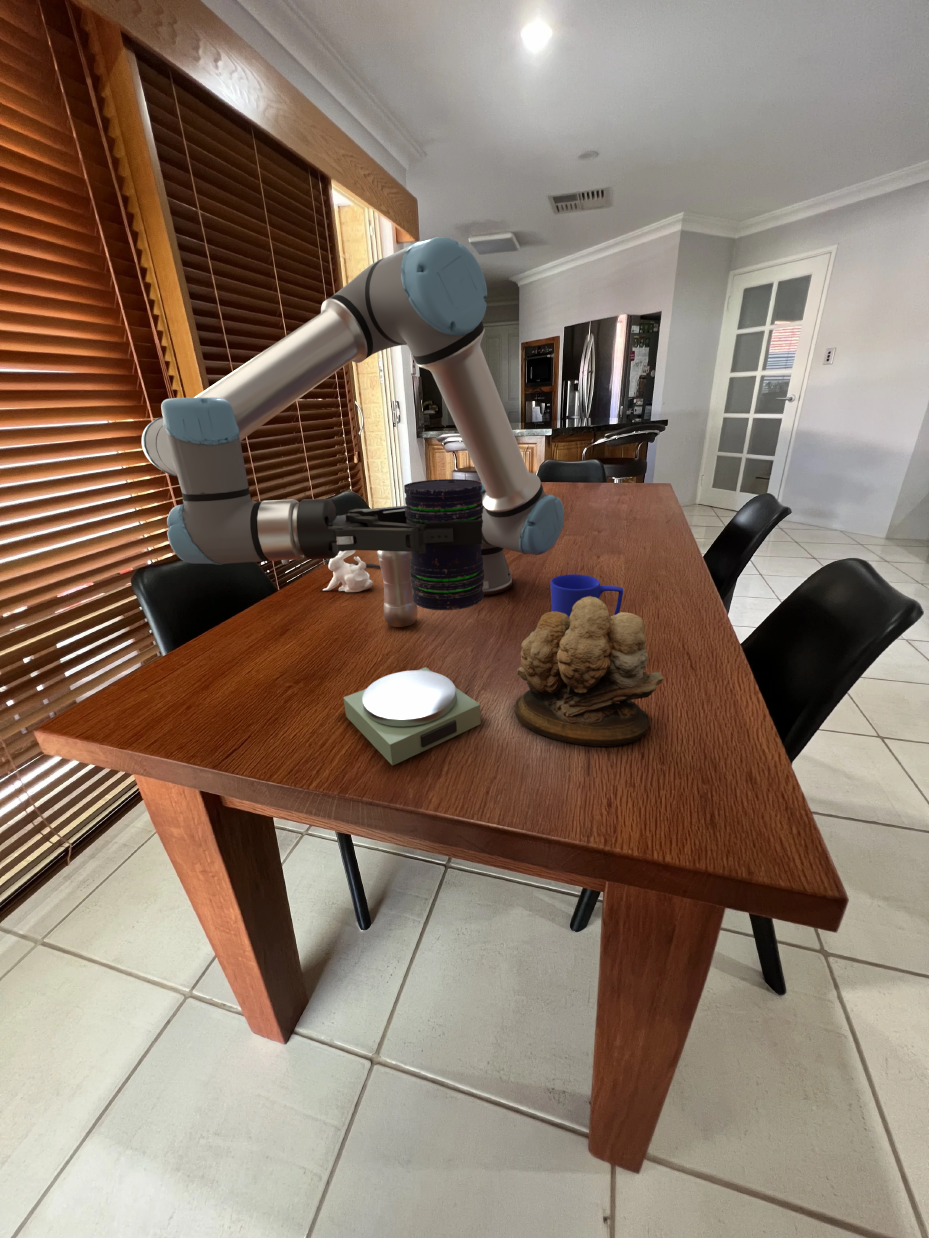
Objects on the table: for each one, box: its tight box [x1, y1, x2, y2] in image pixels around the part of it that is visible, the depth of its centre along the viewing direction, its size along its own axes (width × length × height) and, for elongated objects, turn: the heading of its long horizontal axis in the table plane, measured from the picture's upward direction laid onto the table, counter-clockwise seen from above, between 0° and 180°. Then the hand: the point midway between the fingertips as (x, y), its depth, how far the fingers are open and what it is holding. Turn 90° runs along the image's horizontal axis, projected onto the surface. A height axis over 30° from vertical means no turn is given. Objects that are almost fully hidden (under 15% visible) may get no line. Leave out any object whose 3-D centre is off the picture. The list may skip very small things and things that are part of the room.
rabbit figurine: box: [322, 550, 374, 593], centre depth 115 cm, size 12×8×10 cm, turn 73°
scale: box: [342, 666, 482, 766], centre depth 65 cm, size 13×13×3 cm
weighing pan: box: [362, 669, 457, 727], centre depth 64 cm, size 12×12×1 cm
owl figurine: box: [514, 596, 664, 747], centre depth 61 cm, size 18×12×17 cm, turn 72°
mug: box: [550, 574, 624, 617], centre depth 86 cm, size 8×12×10 cm
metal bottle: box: [376, 551, 419, 628], centre depth 91 cm, size 6×7×20 cm
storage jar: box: [403, 478, 485, 611], centre depth 64 cm, size 10×10×15 cm
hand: (478, 522), depth 63 cm, fingers closed on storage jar, 10 cm apart
